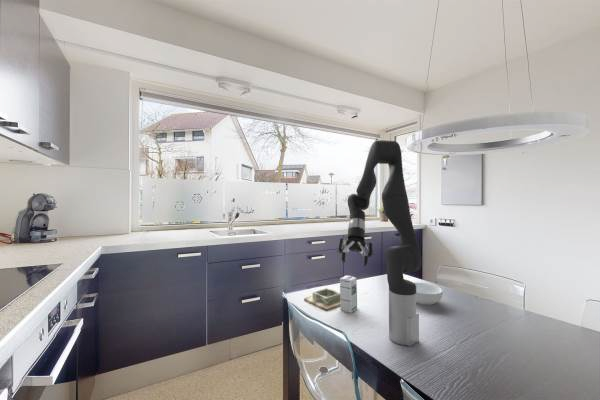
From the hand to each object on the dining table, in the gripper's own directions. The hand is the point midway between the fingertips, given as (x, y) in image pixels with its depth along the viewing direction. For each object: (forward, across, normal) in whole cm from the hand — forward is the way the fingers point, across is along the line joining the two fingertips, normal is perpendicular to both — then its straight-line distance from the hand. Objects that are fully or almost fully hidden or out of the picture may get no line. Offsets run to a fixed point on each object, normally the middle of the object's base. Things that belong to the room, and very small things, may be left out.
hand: (354, 263), depth 111 cm
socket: (+9, -9, +29) cm, 31 cm away
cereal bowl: (+1, +36, +29) cm, 46 cm away
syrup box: (+13, +1, +22) cm, 25 cm away
